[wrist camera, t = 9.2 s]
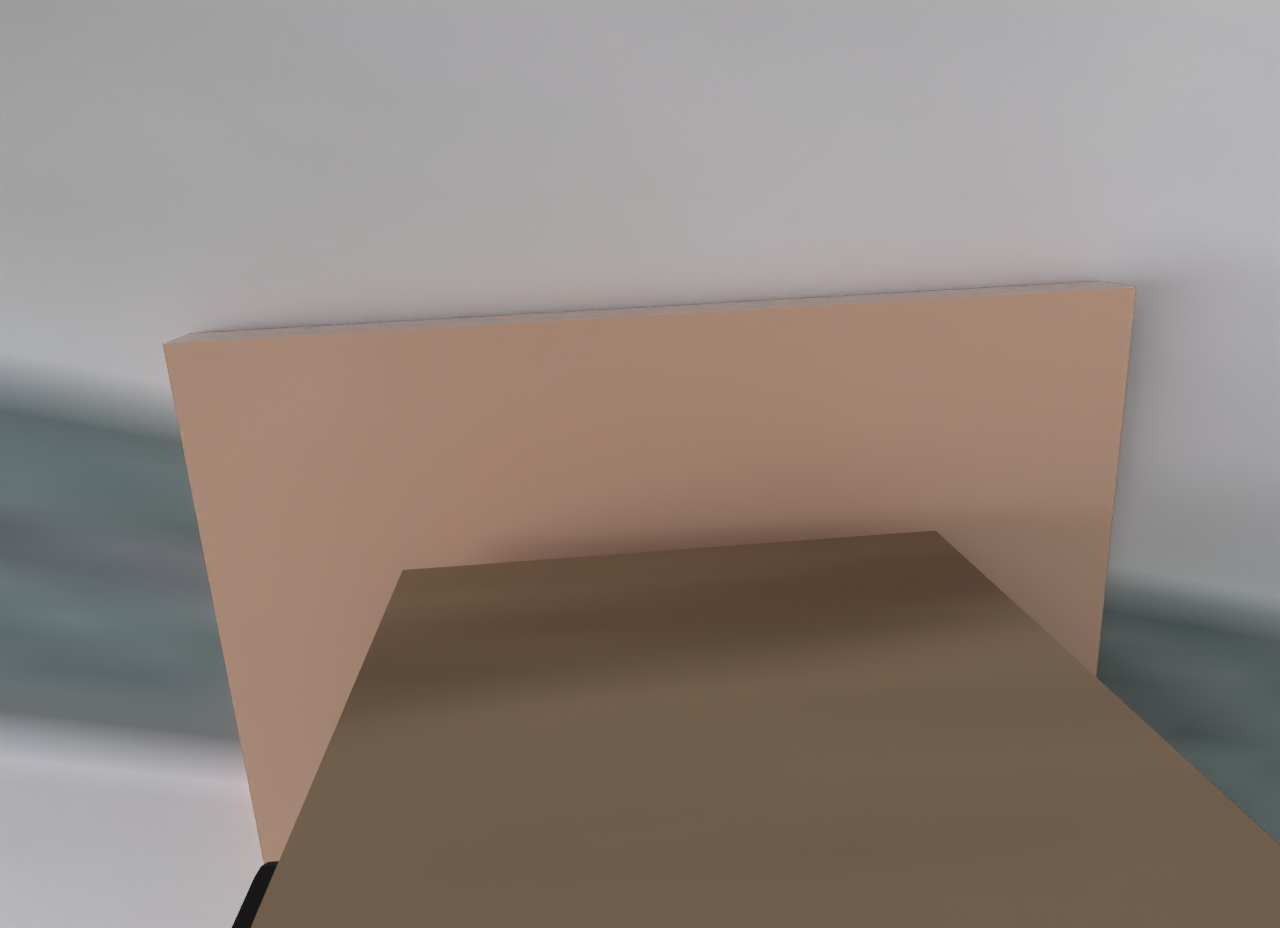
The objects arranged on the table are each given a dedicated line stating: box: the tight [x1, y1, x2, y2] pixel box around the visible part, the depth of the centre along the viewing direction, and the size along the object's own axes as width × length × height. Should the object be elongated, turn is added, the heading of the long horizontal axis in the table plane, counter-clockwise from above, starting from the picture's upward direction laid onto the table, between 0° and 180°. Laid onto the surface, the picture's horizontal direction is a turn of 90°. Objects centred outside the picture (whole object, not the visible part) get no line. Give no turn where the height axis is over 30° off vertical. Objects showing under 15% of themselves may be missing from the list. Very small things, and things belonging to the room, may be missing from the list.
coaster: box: [163, 281, 1136, 864], centre depth 12 cm, size 11×11×1 cm
